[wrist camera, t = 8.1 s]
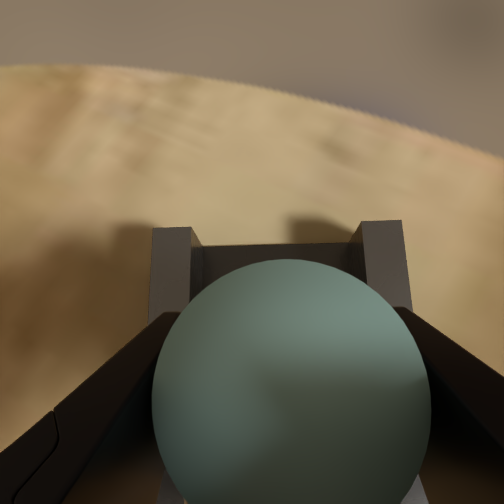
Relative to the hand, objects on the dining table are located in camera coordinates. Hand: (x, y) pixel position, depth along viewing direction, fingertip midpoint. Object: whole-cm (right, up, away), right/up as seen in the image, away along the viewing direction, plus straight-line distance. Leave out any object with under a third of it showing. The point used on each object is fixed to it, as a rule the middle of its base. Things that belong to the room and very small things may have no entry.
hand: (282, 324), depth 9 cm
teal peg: (0, -3, +6) cm, 7 cm away
